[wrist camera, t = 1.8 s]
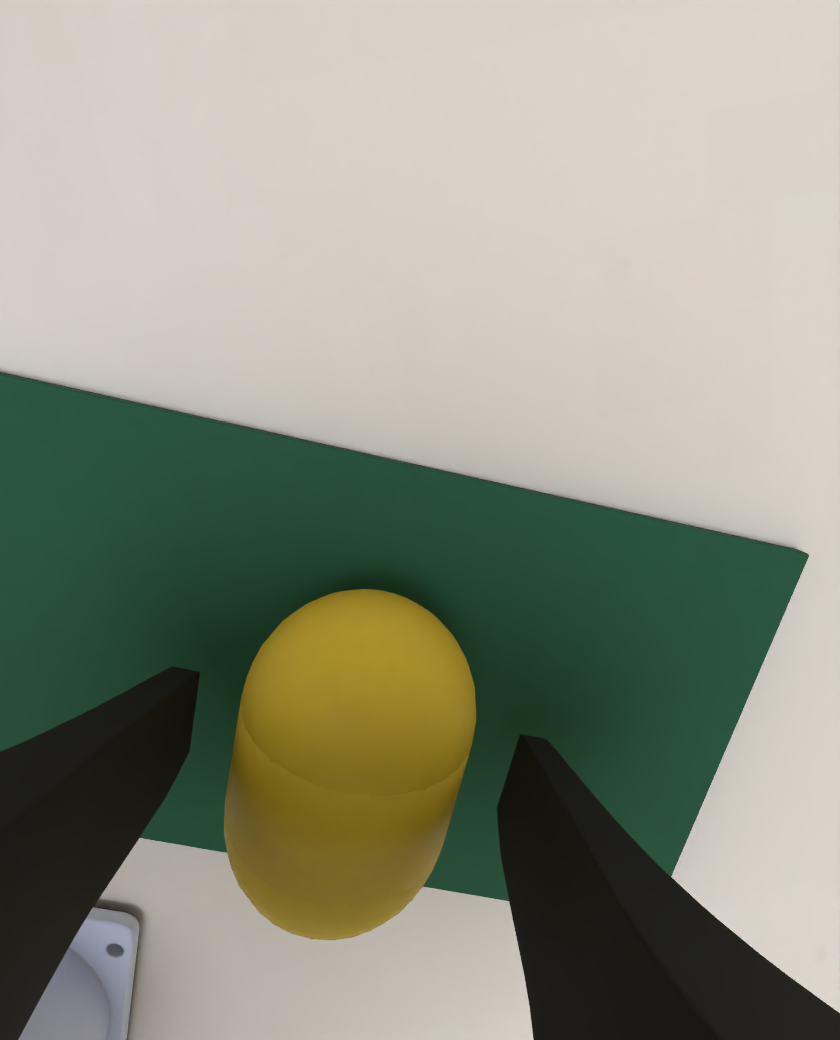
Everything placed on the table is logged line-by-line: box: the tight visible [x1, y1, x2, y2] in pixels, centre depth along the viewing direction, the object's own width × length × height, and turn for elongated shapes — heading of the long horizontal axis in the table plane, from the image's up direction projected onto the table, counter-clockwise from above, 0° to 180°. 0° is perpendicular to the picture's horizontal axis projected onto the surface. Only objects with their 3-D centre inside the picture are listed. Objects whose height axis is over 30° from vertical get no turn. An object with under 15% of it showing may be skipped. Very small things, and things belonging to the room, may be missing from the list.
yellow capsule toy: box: [224, 589, 476, 940], centre depth 11 cm, size 7×5×5 cm, turn 167°
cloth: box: [0, 372, 809, 901], centre depth 13 cm, size 12×20×1 cm, turn 77°
